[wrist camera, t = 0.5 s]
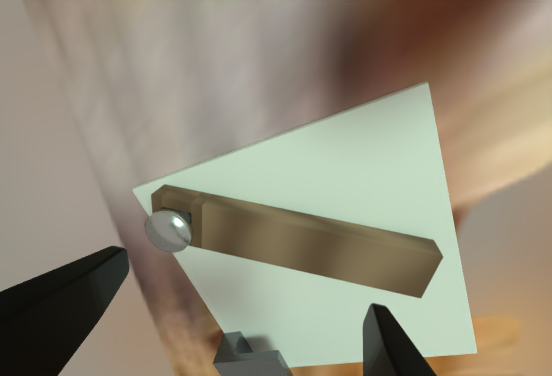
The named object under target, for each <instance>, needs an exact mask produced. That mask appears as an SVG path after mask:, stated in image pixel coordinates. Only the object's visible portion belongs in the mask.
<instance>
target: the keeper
mask: <svg viewBox="0 0 552 376" xmlns="http://www.w3.org/2000/svg"><path fill="white" fill-rule="evenodd" d="M213 365H214V366H215V367H216V369H217V370H218V372H219V373H220V375H221V376H293V374H292V372H291V371H290V369H289V367H288V365H287V364H286V362H285V360H284V358H283V356H282V355H281V353H280V351H279V350H273V351H263V352H253V351H252V349H251V347H250V346H249V344H248V342H247V341H246V339H245V338H244V336H243V334H242V333H241V331H237V332H230V333H224V335H223V338H222V340H221V343H220V346H219V348H218V351H217V354H216V356H215V359H214V362H213Z"/></svg>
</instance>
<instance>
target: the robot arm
mask: <svg viewBox="0 0 552 376" xmlns="http://www.w3.org/2000/svg"><path fill="white" fill-rule="evenodd" d="M128 272H129V261H128V255H127V251H126V249H125V248H122V247H117V246H110V247H107V248H105V249H103V250H100V251H98V252H95V253H93V254H91V255H88V256H86V257H83V258H81V259H79V260H76V261H74V262H71V263H69V264H66V265H64V266H62V267H59V268H57V269H54V270H52V271H49V272H47V273H45V274H42V275H40V276H37V277H35V278H32V279H30V280H27V281H25V282H23V283H20V284H18V285H15V286H13V287H10V288H8V289H6V290H3V291H1V292H0V376H58V374H59V373H60V372H61V370H62V369H63V367H64V366H65V365H66V364H67V362H68V361H69V360H70V358H71V357H72V356H73V354H74V353H75V352H76V350H77V349H78V348H79V346H80V345H81V344H82V342H83V341H84V340H85V338H86V337H87V336H88V335H89V333H90V332H91V330H92V329H93V328H94V326H95V325H96V324H97V322H98V321H99V320H100V318H101V317H102V315H103V314H104V312H105V310H106V309H107V307H108V305H109V304H110V302H111V300H112V299H113V297H114V296H115V294H116V292H117V291H118V289H119V288H120V286H121V284H122V283H123V281H124V279H125V278H126V276H127V274H128ZM362 332H363V376H437V375H436V374H435V372H434V371H433V370H432V368H431V367H430V366H429V364H428V363H427V361H426V360H425V359H424V357H423V356H422V354H421V353H420V352H419V350H418V349H417V348H416V346H415V345H414V343H413V342H412V341H411V339H410V338H409V336H408V335H407V334H406V332H405V331H404V330H403V328H402V327H401V325H400V324H399V323H398V321H397V320H396V319H395V317H394V316H393V314H392V313H391V312H390V310H389V309H388V308H387V307H386V306H385V305H381V304H377V303H371V304H370V306H369V309H368V311H367V314H366V316H365V319H364V321H363V328H362Z"/></svg>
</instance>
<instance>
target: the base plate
mask: <svg viewBox="0 0 552 376" xmlns="http://www.w3.org/2000/svg"><path fill="white" fill-rule="evenodd" d="M164 184H167V185H171V186H176V187H181V188H186V189H191V190H196V191H200V192H205V193H210V194H215V195H220V196H225V197H229V198H234V199H239V200H244V201H249V202H254V203H258V204H263V205H268V206H273V207H278V208H283V209H287V210H292V211H297V212H302V213H307V214H312V215H316V216H321V217H326V218H331V219H336V220H341V221H345V222H350V223H355V224H360V225H365V226H370V227H374V228H379V229H384V230H389V231H394V232H399V233H403V234H408V235H413V236H418V237H423V238H427V239H432V240H434V241H435V243H436V245H437V246H438V248H439V250H440V251H441V253H442V255H443V259H442V260H441V262H440V264H439V266H438V268H437V270H436V272H435V274H434V275H433V277H432V279H431V281H430V283H429V285H428V287H427V289H426V290H425V292H424V294H423V296H422V298H416V297H412V296H407V295H403V294H399V293H394V292H390V291H386V290H381V289H377V288H372V287H368V286H364V285H359V284H355V283H350V282H346V281H342V280H337V279H333V278H328V277H324V276H320V275H315V274H311V273H306V272H302V271H298V270H293V269H289V268H284V267H280V266H276V265H271V264H267V263H263V262H258V261H254V260H249V259H245V258H241V257H236V256H232V255H227V254H223V253H219V252H214V251H210V250H205V249H201V248H197V247H192V246H188V244H189V243H190V242H191V240H192V238H193V229H192V226H191V213H189V212H185V211H180V210H175V209H174V210H171V209H161V210H158V211H156V212H155V213H154V214H152V202H151V194H152V193H154V192H155V191H156V190H158V189H159V188H160V187H161V186H163V185H164ZM132 191H133V192H134V194H135V196H136V197H137V199H138V200H139V202H140V203H141V205H142V206H143V208H144V210H145V211H146V213H147V214H148V216H149V218H148V219H147V221H146V224H145V230H146V234H147V236H148V238H149V239H150V241H151V242H152V243H153V244H154V245H155V246H157V247H158V248H160V249H162V250H164V251H167V252H172V253H173V254H174V256H175V258H176V259H177V261H178V262H179V264H180V265H181V267H182V268H183V270H184V272H185V273H186V275H187V276H188V278H189V279H190V281H191V282H192V284H193V286H194V287H195V289H196V290H197V292H198V293H199V295H200V296H201V298H202V299H203V301H204V303H205V304H206V306H207V307H208V309H209V310H210V312H211V313H212V315H213V317H214V318H215V320H216V321H217V323H218V324H219V326H220V327H221V329H222V330H223V332H224V333H230V332H237V331H241V333H242V334H243V336H244V338H245V339H246V341H247V342H248V344H249V346H250V347H251V349H252V351H253V352H263V351H273V350H279V351H280V353H281V355H282V356H283V358H284V360H285V362H286V364H287V365H288V367H300V366H314V365H327V364H340V363H353V362H363V332H362V328H363V321H364V319H365V316H366V314H367V311H368V309H369V306H370V304H371V303H377V304H381V305H385V306H386V307H387V308H388V309H389V310H390V312H391V313H392V314H393V316H394V317H395V319H396V320H397V321H398V323H399V324H400V325H401V327H402V328H403V330H404V331H405V332H406V334H407V335H408V336H409V338H410V339H411V341H412V342H413V343H414V345H415V346H416V348H417V349H418V350H419V352H420V353H421V354H422V356H423V357H433V356H446V355H459V354H472V353H477V348H476V343H475V337H474V332H473V326H472V321H471V315H470V310H469V304H468V299H467V293H466V288H465V282H464V277H463V272H462V266H461V260H460V255H459V249H458V244H457V238H456V233H455V227H454V222H453V216H452V211H451V205H450V200H449V194H448V189H447V183H446V178H445V172H444V167H443V161H442V156H441V150H440V145H439V139H438V134H437V128H436V123H435V117H434V112H433V106H432V101H431V95H430V90H429V84H428V82H421V83H418V84H415V85H413V86H410V87H407V88H404V89H402V90H399V91H396V92H393V93H391V94H388V95H385V96H382V97H380V98H377V99H374V100H371V101H368V102H366V103H363V104H360V105H357V106H355V107H352V108H349V109H346V110H344V111H341V112H338V113H335V114H333V115H330V116H327V117H324V118H322V119H319V120H316V121H313V122H311V123H308V124H305V125H302V126H300V127H297V128H294V129H291V130H289V131H286V132H283V133H280V134H278V135H275V136H272V137H269V138H267V139H264V140H261V141H258V142H256V143H253V144H250V145H247V146H245V147H242V148H239V149H236V150H234V151H231V152H228V153H225V154H223V155H220V156H217V157H214V158H212V159H209V160H206V161H203V162H201V163H198V164H195V165H192V166H190V167H187V168H184V169H181V170H179V171H176V172H173V173H170V174H168V175H165V176H162V177H159V178H157V179H154V180H151V181H148V182H146V183H143V184H140V185H138V186H136V187H135V188H133V189H132Z"/></svg>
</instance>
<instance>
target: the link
mask: <svg viewBox="0 0 552 376" xmlns="http://www.w3.org/2000/svg"><path fill="white" fill-rule="evenodd" d="M151 202H152V214H154V213H155V212H156V211H158V210H161V209H171V210H174V209H175V210H180V211H185V212H189V213H191V226H192V229H193V238H192V240H191V242H190V243H189V244H188V246H192V247H197V248H201V249H205V250H210V251H214V252H219V253H223V254H227V255H232V256H236V257H241V258H245V259H249V260H254V261H258V262H263V263H267V264H271V265H276V266H280V267H284V268H289V269H293V270H298V271H302V272H306V273H311V274H315V275H320V276H324V277H328V278H333V279H337V280H342V281H346V282H350V283H355V284H359V285H364V286H368V287H372V288H377V289H381V290H386V291H390V292H394V293H399V294H403V295H407V296H412V297H416V298H422V296H423V294H424V292H425V290H426V289H427V287H428V285H429V283H430V281H431V279H432V277H433V275H434V274H435V272H436V270H437V268H438V266H439V264H440V262H441V260H442V259H443V255H442V253H441V251H440V250H439V248H438V246H437V245H436V243H435V241H434V240H432V239H427V238H423V237H418V236H413V235H408V234H403V233H399V232H394V231H389V230H384V229H379V228H374V227H370V226H365V225H360V224H355V223H350V222H345V221H341V220H336V219H331V218H326V217H321V216H316V215H312V214H307V213H302V212H297V211H292V210H287V209H283V208H278V207H273V206H268V205H263V204H258V203H254V202H249V201H244V200H239V199H234V198H229V197H225V196H220V195H215V194H210V193H205V192H200V191H196V190H191V189H186V188H181V187H176V186H171V185H167V184H164V185H163V186H161V187H160V188H159V189H158V190H156V191H155V192H154V193H152V194H151Z"/></svg>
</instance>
